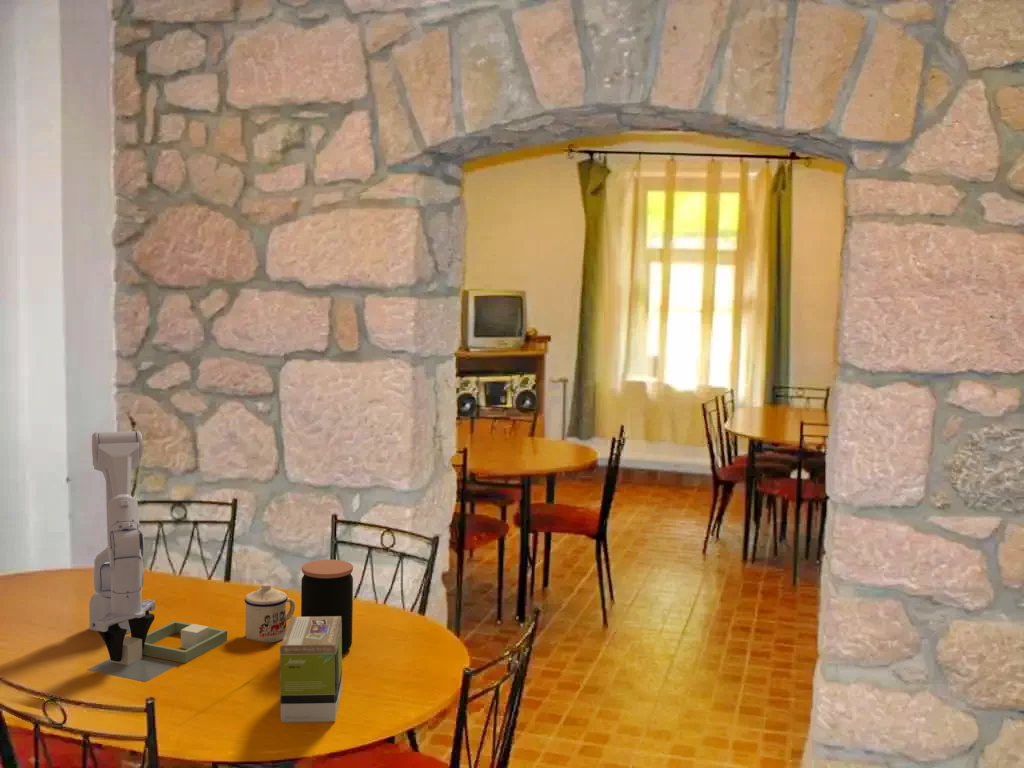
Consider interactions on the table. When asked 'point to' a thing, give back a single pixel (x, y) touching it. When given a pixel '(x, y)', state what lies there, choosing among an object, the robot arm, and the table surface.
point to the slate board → (135, 668)
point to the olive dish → (176, 654)
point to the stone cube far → (193, 635)
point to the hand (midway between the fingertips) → (127, 655)
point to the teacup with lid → (267, 614)
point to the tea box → (311, 669)
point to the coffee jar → (329, 593)
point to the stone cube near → (131, 650)
